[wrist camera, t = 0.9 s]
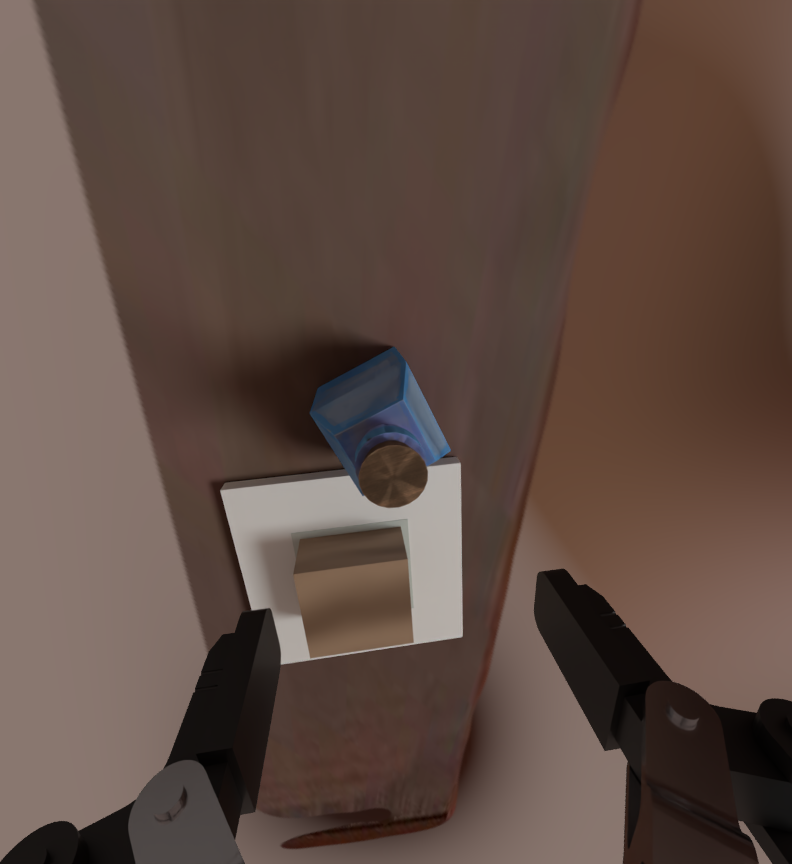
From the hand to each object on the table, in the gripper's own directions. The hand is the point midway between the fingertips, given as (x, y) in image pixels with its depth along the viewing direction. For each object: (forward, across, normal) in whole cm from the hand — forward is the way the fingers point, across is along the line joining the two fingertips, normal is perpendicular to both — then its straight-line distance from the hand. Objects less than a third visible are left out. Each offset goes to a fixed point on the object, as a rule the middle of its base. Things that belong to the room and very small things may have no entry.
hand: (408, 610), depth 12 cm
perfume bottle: (+19, 0, -1) cm, 19 cm away
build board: (+18, +3, +13) cm, 23 cm away
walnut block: (+17, +3, +13) cm, 22 cm away
